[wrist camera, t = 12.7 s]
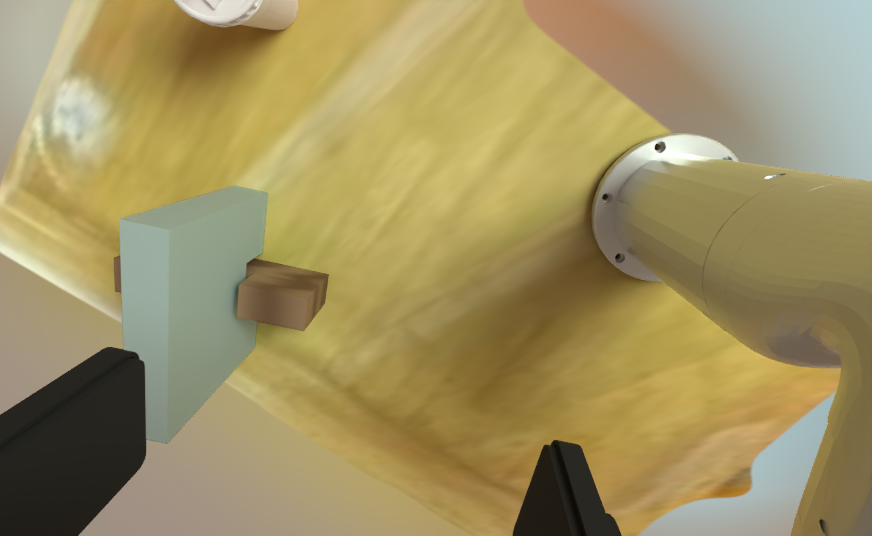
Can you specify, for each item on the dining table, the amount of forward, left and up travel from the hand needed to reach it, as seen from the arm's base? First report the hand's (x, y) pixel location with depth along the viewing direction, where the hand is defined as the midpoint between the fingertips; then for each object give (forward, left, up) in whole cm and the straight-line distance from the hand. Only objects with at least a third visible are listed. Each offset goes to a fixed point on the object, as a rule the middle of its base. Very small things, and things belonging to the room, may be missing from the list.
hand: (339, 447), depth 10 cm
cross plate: (+16, +10, -30) cm, 36 cm away
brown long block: (+16, +10, -30) cm, 36 cm away
